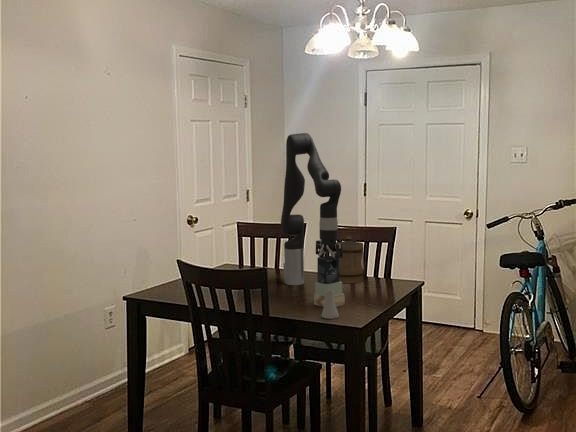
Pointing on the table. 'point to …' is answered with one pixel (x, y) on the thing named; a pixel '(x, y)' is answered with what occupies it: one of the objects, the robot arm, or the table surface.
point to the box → (327, 270)
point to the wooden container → (351, 261)
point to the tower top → (328, 288)
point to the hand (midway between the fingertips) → (328, 266)
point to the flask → (330, 307)
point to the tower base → (321, 300)
